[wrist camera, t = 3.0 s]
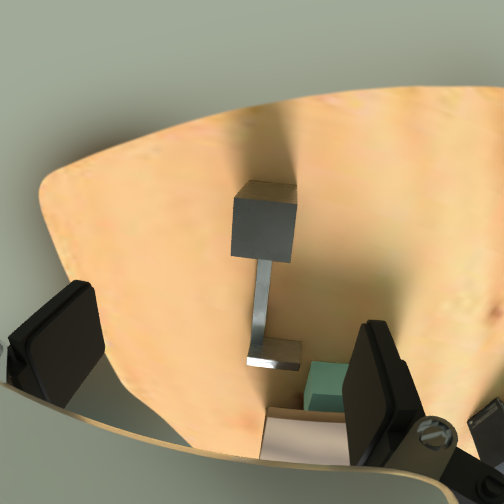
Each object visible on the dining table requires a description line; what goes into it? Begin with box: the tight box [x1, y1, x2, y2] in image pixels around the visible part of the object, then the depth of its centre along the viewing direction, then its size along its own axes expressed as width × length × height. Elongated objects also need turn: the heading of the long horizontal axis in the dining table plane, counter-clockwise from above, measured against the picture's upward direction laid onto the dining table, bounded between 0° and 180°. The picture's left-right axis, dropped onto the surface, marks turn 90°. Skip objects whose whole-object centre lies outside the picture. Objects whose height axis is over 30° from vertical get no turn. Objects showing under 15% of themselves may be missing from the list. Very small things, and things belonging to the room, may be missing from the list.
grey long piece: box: [231, 180, 301, 371], centre depth 27 cm, size 16×6×7 cm, turn 176°
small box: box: [467, 398, 504, 474], centre depth 30 cm, size 11×6×10 cm, turn 53°
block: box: [304, 361, 349, 413], centre depth 31 cm, size 5×5×5 cm
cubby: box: [259, 407, 350, 466], centre depth 30 cm, size 11×13×10 cm
